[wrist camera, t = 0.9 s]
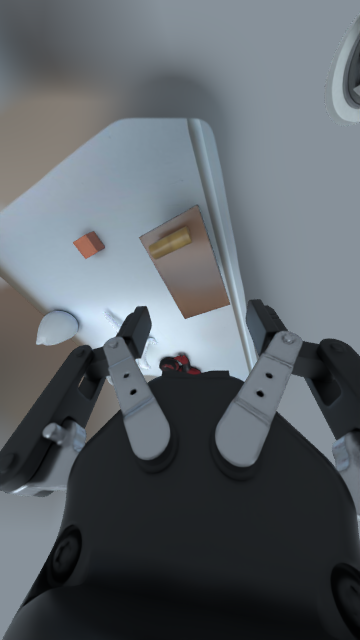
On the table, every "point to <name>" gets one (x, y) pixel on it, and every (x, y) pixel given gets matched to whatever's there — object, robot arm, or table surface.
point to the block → (89, 244)
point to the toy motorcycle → (177, 365)
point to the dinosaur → (143, 361)
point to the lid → (187, 263)
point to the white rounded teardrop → (56, 328)
